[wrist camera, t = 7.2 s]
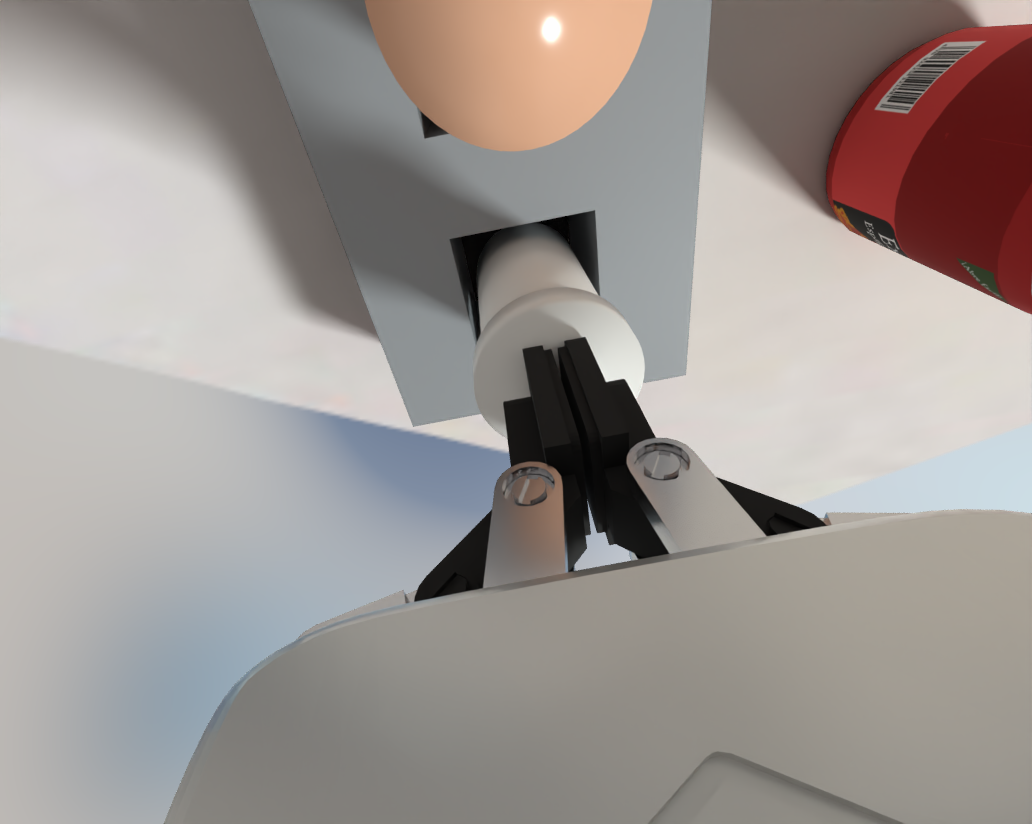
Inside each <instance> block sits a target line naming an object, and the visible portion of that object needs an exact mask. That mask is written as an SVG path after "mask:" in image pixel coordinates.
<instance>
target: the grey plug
mask: <svg viewBox="0 0 1032 824" xmlns="http://www.w3.org/2000/svg"><path fill="white" fill-rule="evenodd" d="M477 288H478V301H479V314H480V327H481V334H480V337H479V339H478V341H477V344H476V347H475V351H474V357H473V380H474V394H475V399H476V402H477V405H478V408H479V410H480V412H481V414H482V416H483V417H484V419H485V420H486V421H487V422H488V424H489V425H490V426H491V427H492V428H493V429H494V430H495V431H497V432H498V433H499V434H501V435H502V436H504V437H506V438H507V430H506V422H505V415H504V407H503V402H504V401H509V400H514V399H520V398H525V397H530V396H531V395H530V390H529V384H528V379H527V373H526V367H525V362H524V356H523V350H522V349H524V348H530V347H535V346H540V345H543V348H544V350H548V349H552V352H553V355H554V358H555V362H556V365H557V368H558V371H559V374H560V366H559V358H558V347H563V346H564V341H566V340H571V339H576V338H581V337H586V339H587V341H588V343H589V346H590V348H591V350H592V352H593V354H594V357H595V359H596V361H597V363H598V365H599V368H600V370H601V372H602V374H603V376H604V379H605V381H606V382H609V381H614V380H619V379H625V380H626V382H627V383H628V385H629V387H630V389H631V391H632V393H633V395H634V397H635V399H637V397H638V395H639V393H640V390H641V388H642V384H643V380H644V372H645V363H644V356H643V352H642V348H641V346H640V343H639V341H638V339H637V338H636V336H635V334H634V333H633V331H632V330H631V328H630V326H629V325H628V323H627V322H626V320H625V319H624V317H623V315H622V314H621V313H620V312H619V311H618V310H617V308H616V307H615V306H613V305H612V304H611V303H610V302H608V301H607V300H605V299H604V298H602V297H600V296H599V295H598V294H597V292H596V291H595V289H594V287H593V285H592V284H591V282H590V280H589V278H588V277H587V275H586V273H585V271H584V270H583V268H582V266H581V264H580V263H579V261H578V259H577V258H576V256H575V254H574V252H573V251H572V249H571V247H570V245H569V244H568V242H567V241H566V240H565V238H564V237H563V236H562V235H561V234H560V233H558V232H557V231H556V230H554V229H553V228H551V227H549V226H546V225H543V224H540V223H534V222H533V223H528V224H523V225H518V226H513V227H508V228H504V229H502V230H500V231H499V232H497V233H496V234H495V235H494V236H493V237H492V238H491V239H490V240H489V241H488V242H487V243H486V245H485V246H484V248H483V250H482V252H481V254H480V256H479V260H478V264H477ZM560 377H561V374H560ZM507 439H508V438H507Z"/></svg>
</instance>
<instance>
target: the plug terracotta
mask: <svg viewBox="0 0 1032 824" xmlns="http://www.w3.org/2000/svg"><path fill="white" fill-rule="evenodd" d="M365 4H366V9H367V13H368V17H369V20H370V23H371V26H372V29H373V32H374V35H375V38H376V41H377V43H378V46H379V48H380V50H381V52H382V55H383V57H384V59H385V61H386V63H387V65H388V67H389V68H390V70H391V72H392V74H393V75H394V77H395V79H396V81H397V82H398V83H399V85H400V86H401V88H402V89H403V90H404V92H405V93H406V94H407V96H408V97H409V98H410V100H411V101H412V102H413V103H414V104H415V105H416V106H417V107H418V108H419V109H420V111H421V112H422V113H423V114H424V115H426V116H427V117H428V118H429V119H430V120H431V121H433V122H434V123H435V124H436V125H437V126H439V127H440V128H442V129H443V130H445V131H446V132H448V133H449V134H451V135H452V136H454V137H456V138H458V139H460V140H462V141H465V142H467V143H469V144H472V145H475V146H478V147H481V148H485V149H491V150H496V151H524V150H532V149H535V148H539V147H543V146H546V145H549V144H551V143H554V142H556V141H558V140H560V139H563V138H565V137H566V136H568V135H569V134H571V133H573V132H574V131H576V130H578V129H579V128H580V127H581V126H583V125H584V124H585V123H586V122H588V121H589V120H590V119H591V118H592V117H593V116H594V115H595V114H596V113H597V112H598V111H599V110H600V109H601V108H602V107H603V106H604V105H605V104H606V103H607V101H608V100H609V99H610V97H611V96H612V95H613V94H614V92H615V91H616V90H617V88H618V87H619V85H620V83H621V82H622V80H623V78H624V77H625V75H626V74H627V72H628V70H629V68H630V66H631V64H632V62H633V60H634V58H635V55H636V53H637V51H638V49H639V46H640V43H641V40H642V37H643V35H644V32H645V29H646V25H647V21H648V17H649V13H650V10H651V6H652V0H365Z"/></svg>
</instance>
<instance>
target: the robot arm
mask: <svg viewBox="0 0 1032 824" xmlns="http://www.w3.org/2000/svg"><path fill="white" fill-rule="evenodd" d="M522 350H523V356H524V362H525V367H526V373H527V379H528V384H529V390H530V395H531V396H530V397H525V398H520V399H514V400H509V401H504V402H503V407H504V415H505V422H506V430H507V438H508V446H509V454H510V462H511V467H510V468H509V469H507V470H506V471H505V472H504V473H502V475H501V476H500V477H499V479H498V480H497V483H496V486H495V490H494V498H493V507H492V510H491V511H490V512H489V513H488V514H487V515H486V516H485V517H484V518H483V519H482V521H480V523H478V524H477V525H476V527H475V528H474V529H472V531H471V532H470V533H469V534H468V535H467V536H466V537H465V538H464V539H463V540H462V541H461V542H460V543H459V544H458V545H457V546H456V547H455V548H454V549H453V550H452V551H451V552H450V553H449V554H448V555H447V556H446V557H445V558H444V559H443V560H442V561H441V562H440V563H439V564H438V565H437V566H436V567H435V568H434V569H433V570H432V571H431V572H430V573H429V574H428V575H427V576H426V578H425V579H424V580H423V581H422V583H421V584H420V585H419V587H418V590H416V591H413V592H411V593H408V594H405V592H404V590H402V591H399V592H397V593H394V594H392V595H389V596H387V597H384V598H382V599H379V600H377V601H374V602H372V603H369V604H367V605H364V606H362V607H359V608H357V609H354V610H352V611H349V612H347V613H344V614H342V615H339V616H337V617H335V618H332V619H330V620H327V621H325V622H322V623H320V624H317V625H315V626H313V627H312V628H310V629H308V630H306V631H305V632H304V633H303V634H302V635H300V636H299V638H298V639H296V640H295V641H294V642H292V643H290V644H288V645H286V646H285V647H283V648H281V649H279V650H277V651H276V652H274V653H273V654H271V655H270V656H268V657H267V658H265V659H264V660H262V661H261V662H260V663H258V664H257V665H256V666H255V667H253V668H252V669H251V670H249V671H248V672H247V673H246V674H245V675H244V676H243V677H242V678H241V679H240V680H239V681H238V682H237V683H235V685H234V686H233V687H232V688H231V690H230V691H229V692H228V694H227V695H226V696H225V697H224V699H223V700H222V702H221V703H220V705H219V706H218V708H217V710H216V711H215V713H214V715H213V716H212V718H211V720H210V722H209V723H208V725H207V727H206V729H205V731H204V733H203V735H202V737H201V739H200V741H199V744H198V746H197V748H196V750H195V752H194V754H193V756H192V758H191V760H190V762H189V765H188V767H187V769H186V771H185V774H184V776H183V778H182V781H181V783H180V785H179V788H178V790H177V792H176V794H175V797H174V799H173V802H172V804H171V807H170V809H169V812H168V815H167V817H166V819H165V822H164V824H1032V513H1024V512H1014V511H1005V510H973V509H972V510H971V509H958V510H942V511H927V512H920V513H826V515H825V518H818V517H817V516H815V515H814V514H812V513H810V512H808V511H806V510H804V509H802V508H799V507H797V506H794V505H791V504H788V503H786V502H783V501H780V500H778V499H775V498H772V497H769V496H767V495H764V494H761V493H758V492H756V491H753V490H750V489H747V488H745V487H742V486H739V485H737V484H734V483H731V482H728V481H726V480H723V479H720V478H717V477H715V475H714V474H713V473H712V472H711V471H710V470H709V469H708V467H707V466H706V465H705V464H704V463H703V462H702V460H701V459H700V458H699V457H698V456H697V455H696V453H695V452H694V451H693V450H692V449H691V448H689V447H688V446H687V445H686V444H683V443H681V442H679V441H677V440H673V439H668V438H656V437H655V435H654V433H653V432H652V430H651V428H650V426H649V424H648V422H647V420H646V418H645V416H644V414H643V412H642V410H641V408H640V406H639V405H638V403H637V401H636V399H635V397H634V395H633V393H632V391H631V389H630V387H629V385H628V383H627V382H626V380H625V379H619V380H614V381H609V382H606V381H605V379H604V376H603V374H602V372H601V370H600V368H599V365H598V363H597V361H596V359H595V357H594V354H593V352H592V350H591V348H590V346H589V343H588V341H587V339H586V337H581V338H576V339H571V340H566V341H564V346H563V347H558V358H559V366H560V374H561V377H560V374H559V371H558V368H557V365H556V362H555V358H554V355H553V352H552V349H548V350H544V348H543V345H540V346H535V347H530V348H524V349H522ZM587 500H588V503H589V507H590V510H591V514H592V517H593V520H594V524H595V527H596V531H597V533H602V532H605V533H606V536H607V539H608V543H609V545H613V544H617V545H619V546H621V547H623V548H625V549H627V550H629V555H630V559H631V561H627V562H622V563H616V564H611V565H605V566H600V567H595V568H589V569H584V570H578V571H575V563H576V562H577V561H578V559H579V558H580V557H581V555H582V554H583V553H584V551H585V550H586V549H587V544H586V537H585V535H590V534H591V531H590V522H589V512H588V503H587Z"/></svg>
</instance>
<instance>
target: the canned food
mask: <svg viewBox="0 0 1032 824" xmlns="http://www.w3.org/2000/svg"><path fill="white" fill-rule="evenodd" d="M826 190H827V195H828V199H829V203H830V205H831V207H832V209H833V211H834V212H835V214H836V216H837V217H838V218H839V220H840V221H841V222H842V223H843V224H844V225H845V226H846V227H847V228H848V229H849V230H850V231H852V232H854V233H856V234H858V235H860V236H862V237H864V238H866V239H868V240H871V241H873V242H875V243H877V244H879V245H881V246H884V247H886V248H888V249H890V250H892V251H894V252H897V253H899V254H901V255H903V256H905V257H907V258H910V259H912V260H914V261H916V262H918V263H920V264H923V265H925V266H927V267H929V268H931V269H933V270H936V271H938V272H940V273H942V274H944V275H946V276H949V277H951V278H953V279H955V280H957V281H959V282H962V283H964V284H966V285H968V286H970V287H972V288H975V289H977V290H979V291H981V292H983V293H985V294H987V295H990V296H992V297H994V298H996V299H998V300H1000V301H1003V302H1005V303H1007V304H1009V305H1011V306H1013V307H1016V308H1018V309H1020V310H1022V311H1024V312H1027V313H1029V314H1032V24H1025V25H1008V26H991V27H974V28H965V29H962V30H958V31H955V32H951V33H948V34H945V35H943V36H941V37H938V38H936V39H934V40H932V41H929V42H927V43H925V44H923V45H921V46H919V47H917V48H915V49H913V50H911V51H910V52H908V53H907V54H905V55H904V56H903V57H901V58H900V59H898V60H897V61H896V62H894V63H893V64H891V65H890V66H889V67H888V68H887V69H886V70H885V71H884V72H883V73H882V74H881V75H879V76H878V77H877V78H876V79H875V80H874V81H873V82H872V84H871V85H870V86H869V87H868V88H867V89H866V91H865V92H864V93H863V94H862V95H861V96H860V98H859V99H858V100H857V102H856V103H855V105H854V106H853V108H852V109H851V111H850V112H849V114H848V115H847V117H846V119H845V121H844V123H843V125H842V127H841V129H840V131H839V133H838V135H837V136H836V139H835V142H834V145H833V148H832V151H831V153H830V157H829V162H828V167H827V173H826Z"/></svg>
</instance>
